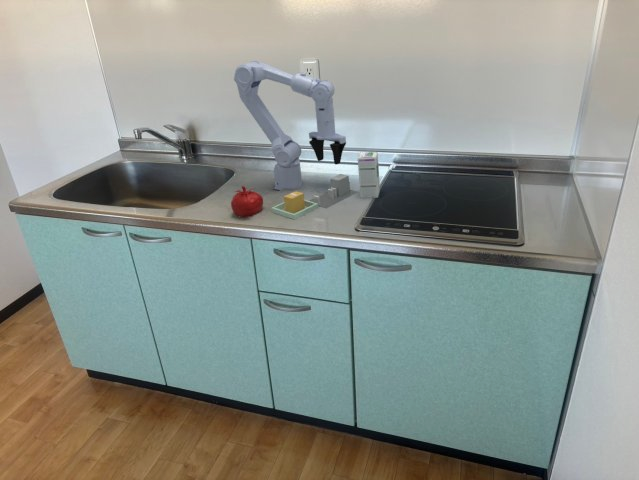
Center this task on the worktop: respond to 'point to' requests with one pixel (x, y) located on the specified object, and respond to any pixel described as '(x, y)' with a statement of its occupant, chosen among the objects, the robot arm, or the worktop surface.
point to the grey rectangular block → (340, 184)
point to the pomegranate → (246, 203)
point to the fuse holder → (331, 197)
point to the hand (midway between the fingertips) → (328, 161)
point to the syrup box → (368, 175)
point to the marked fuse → (294, 202)
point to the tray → (294, 216)
